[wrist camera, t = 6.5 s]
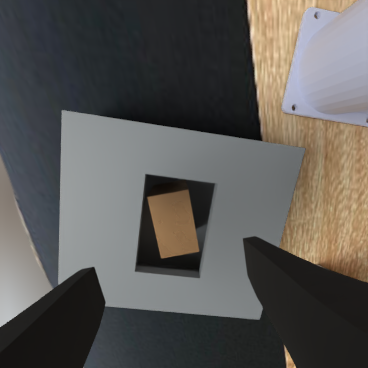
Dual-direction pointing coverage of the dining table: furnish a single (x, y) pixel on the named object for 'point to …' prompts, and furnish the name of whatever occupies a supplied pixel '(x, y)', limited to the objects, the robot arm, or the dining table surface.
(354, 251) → the dining table surface
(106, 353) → the dining table surface
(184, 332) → the dining table surface
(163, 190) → the brown wooden block
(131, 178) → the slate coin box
